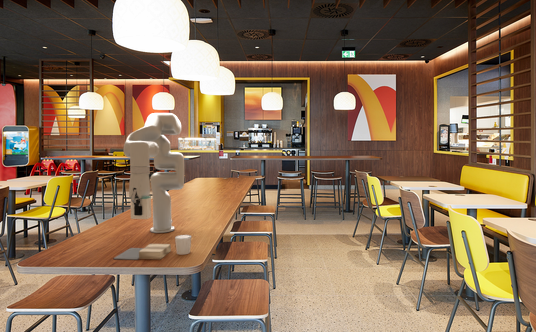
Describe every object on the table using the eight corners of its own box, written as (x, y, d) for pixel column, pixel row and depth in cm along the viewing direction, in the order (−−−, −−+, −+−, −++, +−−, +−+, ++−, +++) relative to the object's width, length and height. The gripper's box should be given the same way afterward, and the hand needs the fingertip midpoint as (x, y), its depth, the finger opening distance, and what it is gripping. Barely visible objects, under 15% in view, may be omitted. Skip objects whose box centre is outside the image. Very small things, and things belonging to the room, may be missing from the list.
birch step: (150, 250, 148) (150, 243, 148) (170, 250, 147) (170, 244, 147) (139, 258, 137) (138, 251, 137) (160, 259, 136) (160, 252, 136)
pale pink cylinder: (172, 252, 145) (171, 236, 144) (186, 249, 150) (186, 233, 149) (180, 256, 140) (180, 239, 140) (194, 252, 145) (194, 236, 144)
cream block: (135, 216, 144) (135, 195, 143) (151, 217, 143) (150, 196, 143) (130, 218, 140) (130, 197, 139) (147, 219, 139) (146, 197, 139)
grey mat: (130, 248, 150) (130, 247, 150) (152, 249, 149) (152, 248, 149) (113, 259, 136) (113, 258, 136) (137, 259, 135) (137, 259, 135)
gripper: (140, 169, 149) (141, 210, 150) (121, 172, 132) (122, 218, 134) (157, 169, 148) (157, 210, 149) (139, 172, 132) (140, 218, 133)
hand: (141, 213), depth 141 cm, fingers closed on cream block, 4 cm apart
